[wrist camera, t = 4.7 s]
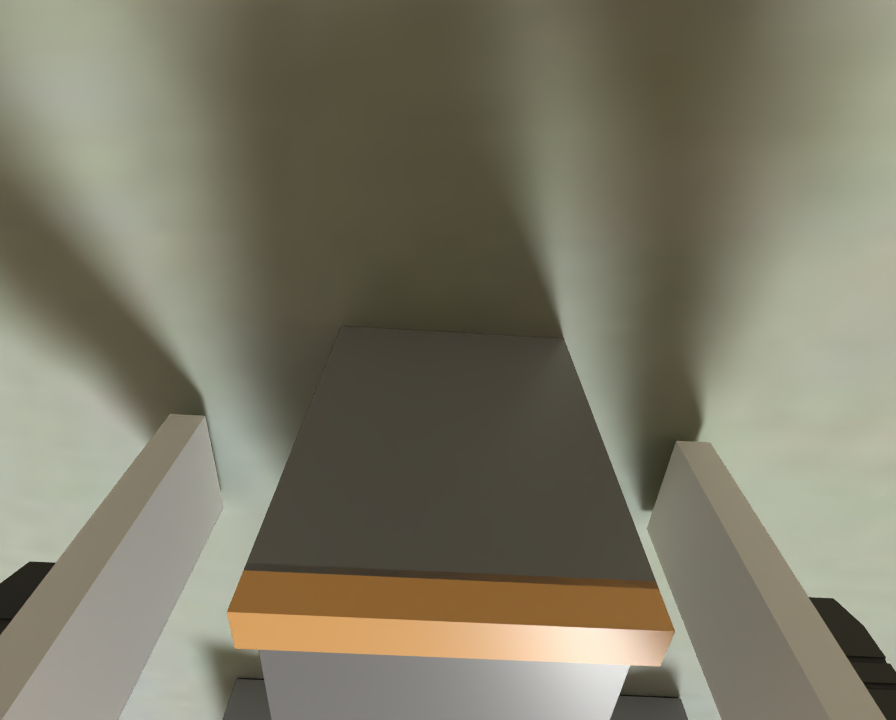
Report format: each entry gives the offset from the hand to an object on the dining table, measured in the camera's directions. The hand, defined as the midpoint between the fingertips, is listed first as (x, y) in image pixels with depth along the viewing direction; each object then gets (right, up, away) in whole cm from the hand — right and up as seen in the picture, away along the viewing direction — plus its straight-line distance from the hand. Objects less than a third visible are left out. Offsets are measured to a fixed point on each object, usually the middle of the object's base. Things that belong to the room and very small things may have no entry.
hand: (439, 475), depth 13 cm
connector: (0, -1, +1) cm, 1 cm away
